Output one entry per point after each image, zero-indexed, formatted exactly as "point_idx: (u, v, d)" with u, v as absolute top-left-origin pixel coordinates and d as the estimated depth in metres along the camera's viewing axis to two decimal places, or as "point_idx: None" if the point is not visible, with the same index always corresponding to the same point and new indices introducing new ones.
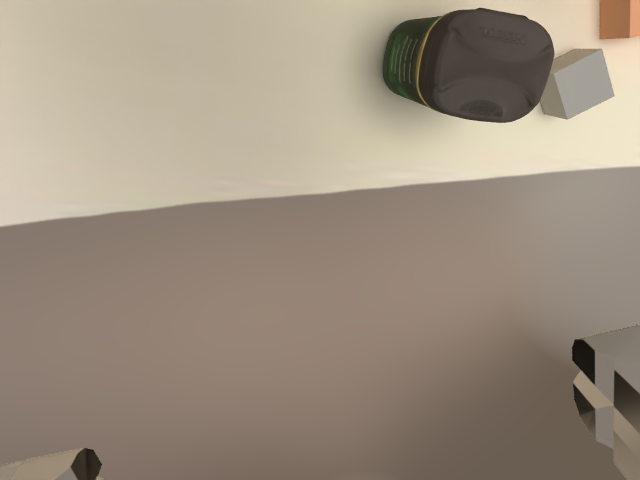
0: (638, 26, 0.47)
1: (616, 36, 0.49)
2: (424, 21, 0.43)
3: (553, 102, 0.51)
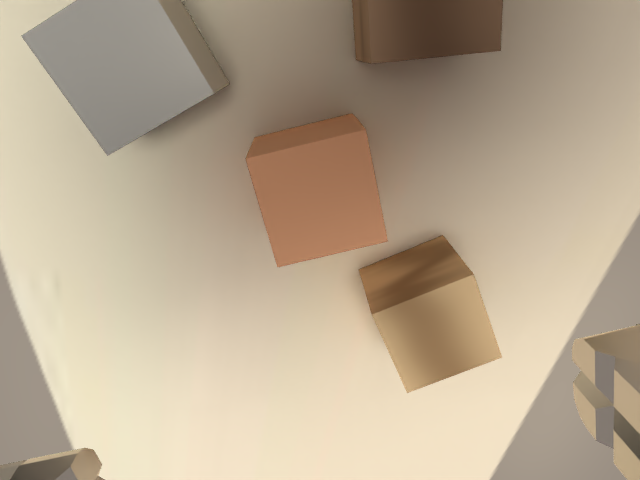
0: (271, 173, 0.20)
1: (253, 147, 0.22)
2: None
3: None
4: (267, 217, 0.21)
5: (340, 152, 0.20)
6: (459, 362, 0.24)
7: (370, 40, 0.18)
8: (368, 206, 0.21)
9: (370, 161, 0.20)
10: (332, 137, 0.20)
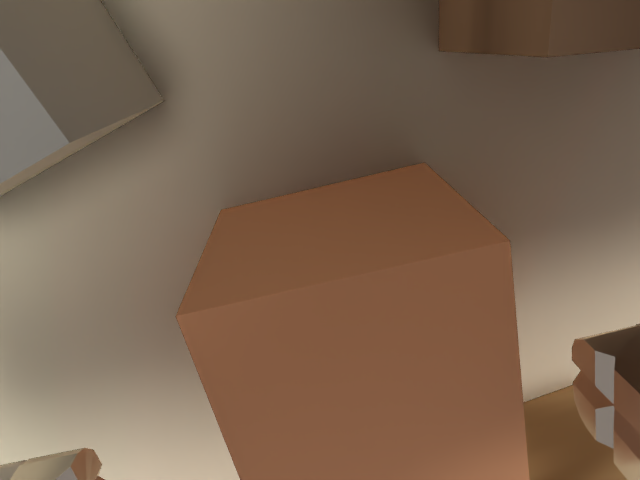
0: (247, 350, 0.07)
1: (208, 257, 0.09)
2: None
3: None
4: (238, 445, 0.08)
5: (434, 297, 0.07)
6: None
7: None
8: (492, 418, 0.08)
9: (512, 318, 0.07)
10: (415, 259, 0.07)
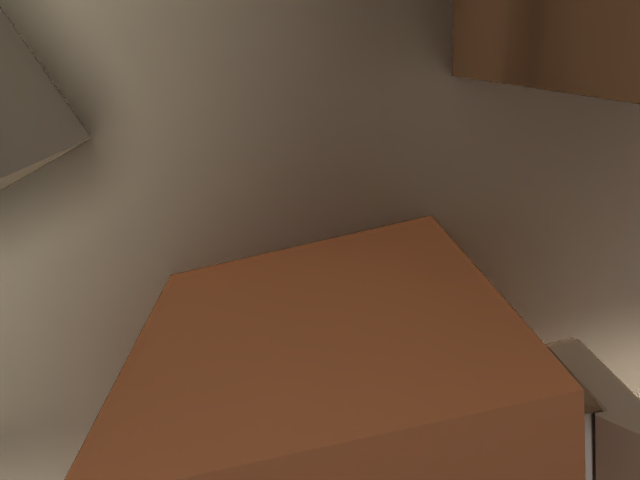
0: None
1: (133, 368, 0.06)
2: None
3: None
4: None
5: (462, 470, 0.05)
6: None
7: None
8: None
9: None
10: (432, 416, 0.04)
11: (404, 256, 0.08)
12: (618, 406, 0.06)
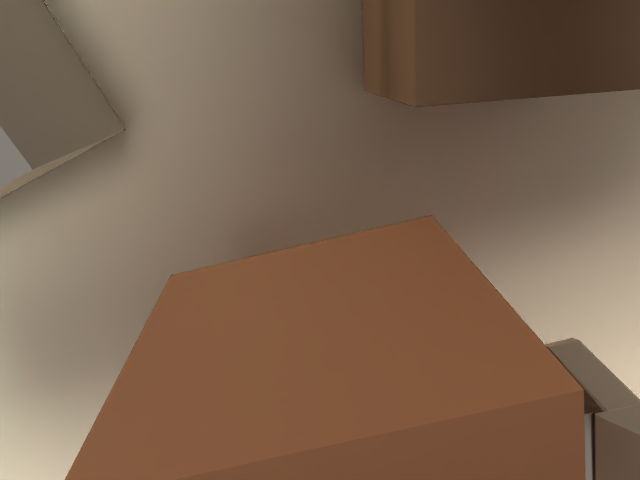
0: None
1: (133, 368, 0.06)
2: None
3: None
4: None
5: (460, 469, 0.05)
6: None
7: (415, 51, 0.08)
8: None
9: None
10: (432, 416, 0.04)
11: (404, 256, 0.08)
12: (618, 406, 0.06)
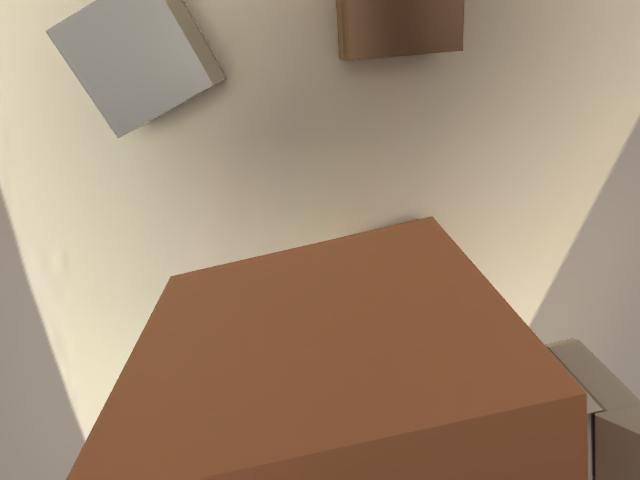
0: None
1: (133, 371, 0.06)
2: None
3: None
4: None
5: (463, 474, 0.05)
6: None
7: (349, 39, 0.21)
8: None
9: None
10: (434, 420, 0.04)
11: (405, 258, 0.08)
12: (618, 406, 0.06)
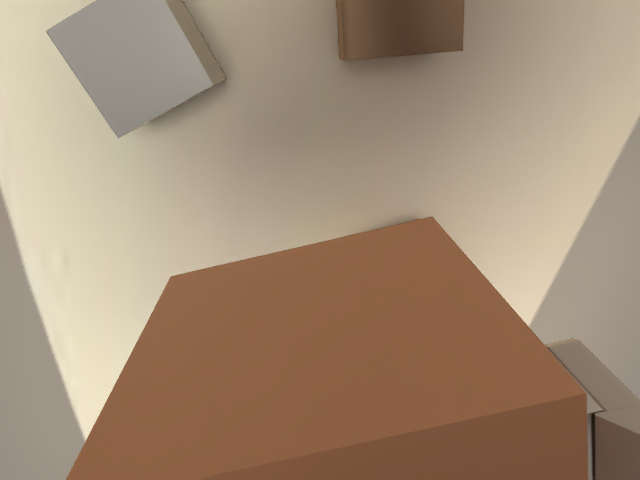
0: None
1: (133, 371, 0.06)
2: None
3: None
4: None
5: (463, 474, 0.05)
6: None
7: (349, 39, 0.21)
8: None
9: None
10: (434, 420, 0.04)
11: (405, 258, 0.08)
12: (618, 406, 0.06)
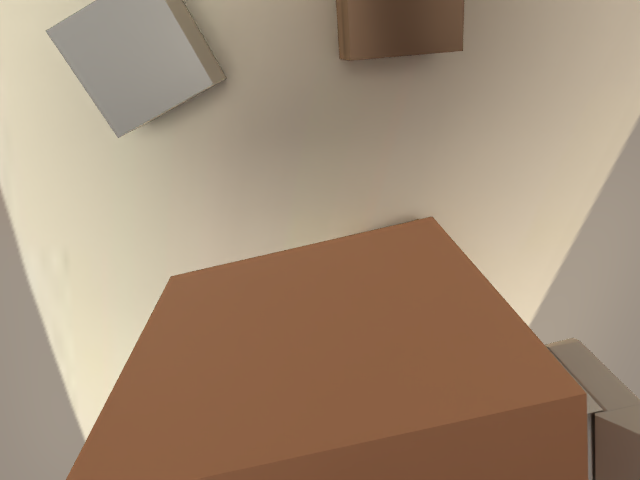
0: None
1: (133, 371, 0.06)
2: None
3: None
4: None
5: (463, 474, 0.05)
6: None
7: (349, 40, 0.21)
8: None
9: None
10: (434, 420, 0.04)
11: (405, 258, 0.08)
12: (618, 406, 0.06)
